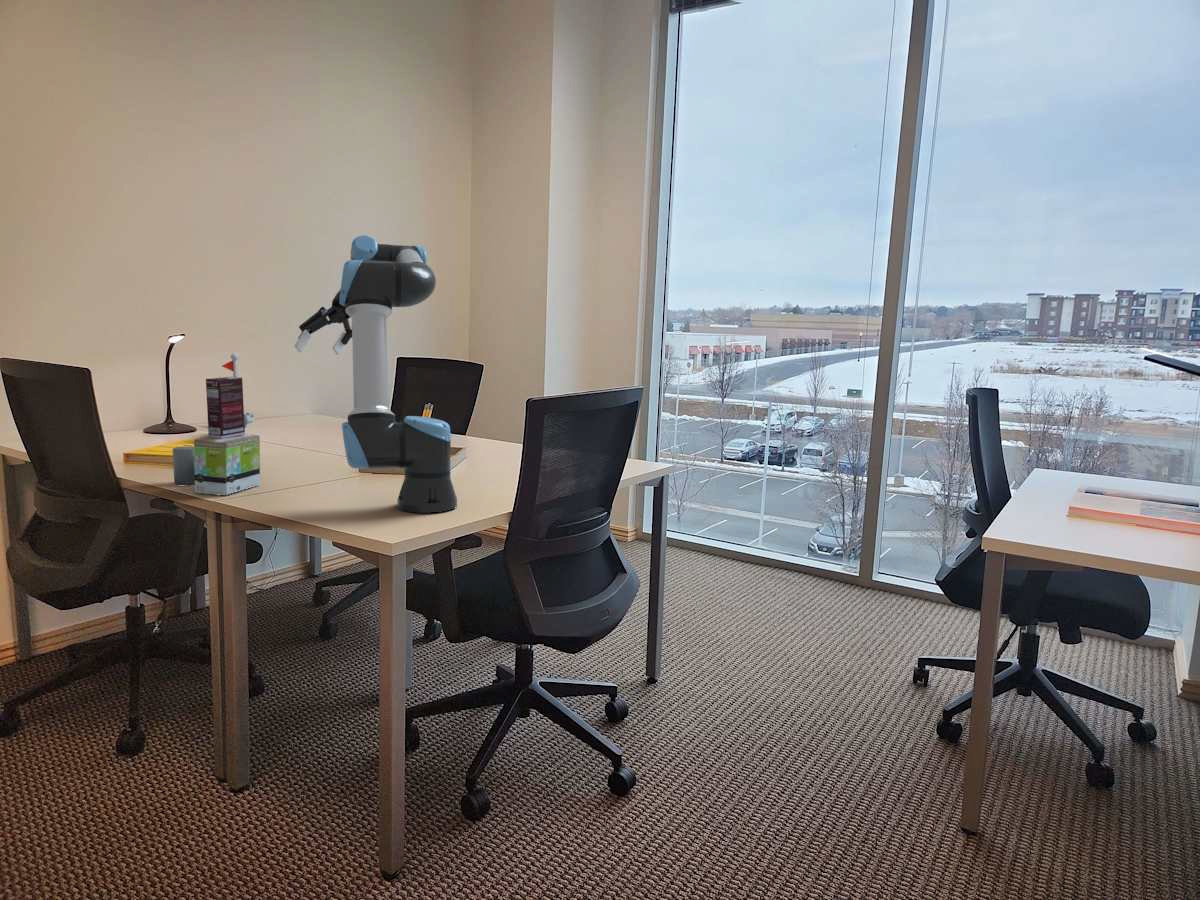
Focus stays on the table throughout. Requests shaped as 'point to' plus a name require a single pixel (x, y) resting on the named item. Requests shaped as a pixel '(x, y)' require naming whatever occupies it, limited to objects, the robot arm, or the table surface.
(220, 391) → the supplement box
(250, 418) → the flag stand
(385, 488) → the table surface
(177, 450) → the upright grey block
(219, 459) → the tea box
